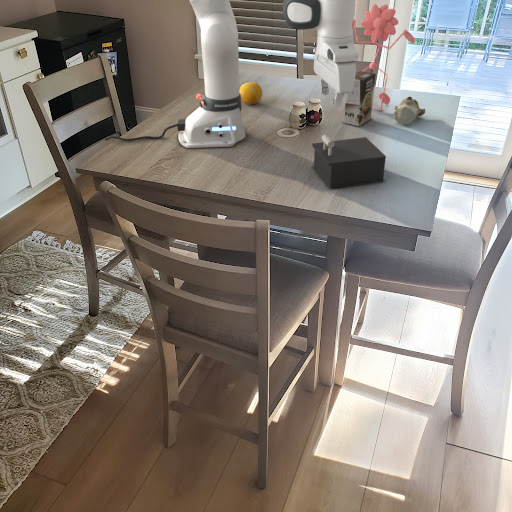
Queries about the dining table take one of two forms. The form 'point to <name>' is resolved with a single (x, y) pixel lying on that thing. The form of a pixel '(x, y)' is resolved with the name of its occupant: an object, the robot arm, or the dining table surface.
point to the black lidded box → (349, 172)
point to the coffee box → (360, 99)
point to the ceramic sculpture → (407, 111)
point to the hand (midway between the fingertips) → (330, 99)
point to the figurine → (381, 34)
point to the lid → (347, 151)
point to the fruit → (250, 93)
